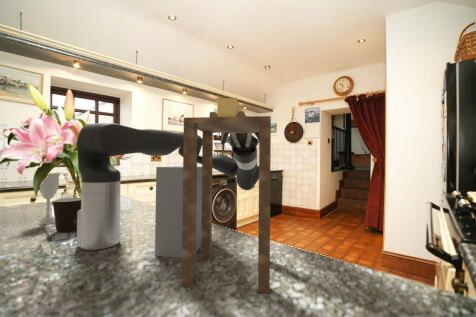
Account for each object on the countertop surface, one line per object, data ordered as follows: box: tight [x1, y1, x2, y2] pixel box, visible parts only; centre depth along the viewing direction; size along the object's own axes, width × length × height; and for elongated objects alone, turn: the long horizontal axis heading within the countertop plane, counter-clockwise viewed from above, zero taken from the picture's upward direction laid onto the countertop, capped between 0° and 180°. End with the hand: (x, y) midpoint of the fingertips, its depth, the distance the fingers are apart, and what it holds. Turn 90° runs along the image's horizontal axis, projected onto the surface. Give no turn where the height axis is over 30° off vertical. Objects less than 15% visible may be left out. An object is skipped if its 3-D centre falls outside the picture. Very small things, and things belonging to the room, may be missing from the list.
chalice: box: [38, 172, 61, 226], centre depth 85 cm, size 7×7×18 cm
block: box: [154, 165, 202, 259], centre depth 62 cm, size 9×14×22 cm, turn 172°
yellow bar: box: [216, 97, 248, 133], centre depth 53 cm, size 4×22×4 cm, turn 172°
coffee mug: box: [52, 197, 81, 234], centre depth 78 cm, size 12×9×10 cm
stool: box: [181, 110, 272, 295], centre depth 48 cm, size 16×14×32 cm
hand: (239, 118), depth 60 cm, fingers closed on yellow bar, 3 cm apart
